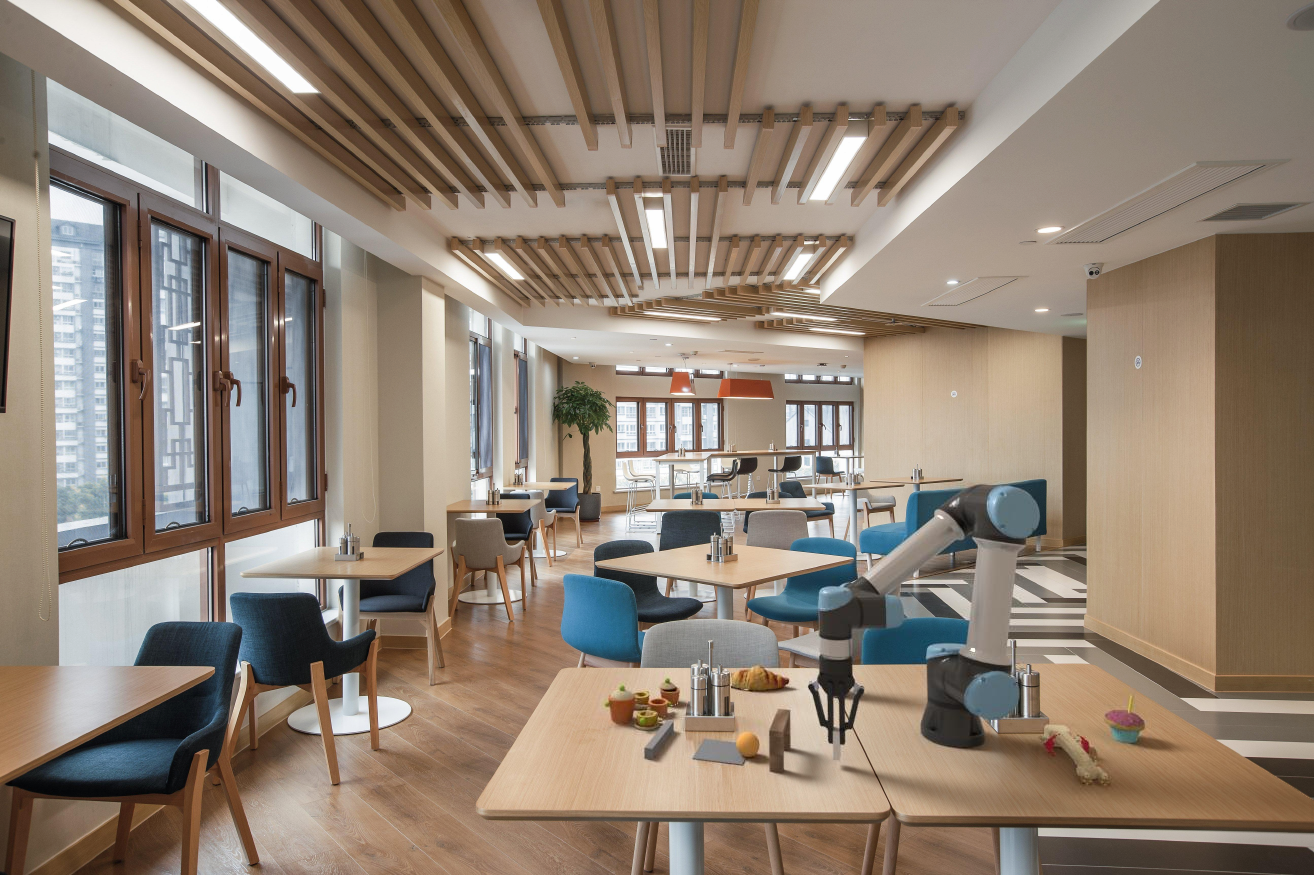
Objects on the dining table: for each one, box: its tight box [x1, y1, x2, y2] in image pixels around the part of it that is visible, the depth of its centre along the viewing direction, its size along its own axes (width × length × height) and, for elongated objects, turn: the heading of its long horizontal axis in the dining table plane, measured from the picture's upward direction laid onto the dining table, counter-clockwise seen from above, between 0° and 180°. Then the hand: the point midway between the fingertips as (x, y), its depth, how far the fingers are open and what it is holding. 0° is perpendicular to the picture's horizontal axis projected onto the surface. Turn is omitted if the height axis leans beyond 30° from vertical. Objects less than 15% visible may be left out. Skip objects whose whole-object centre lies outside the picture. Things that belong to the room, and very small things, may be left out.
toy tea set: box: [604, 677, 681, 731], centre depth 198 cm, size 26×16×10 cm, turn 158°
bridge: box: [768, 708, 792, 774], centre depth 167 cm, size 3×14×9 cm, turn 162°
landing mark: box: [691, 738, 747, 766], centre depth 171 cm, size 12×12×1 cm
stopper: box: [643, 720, 675, 760], centre depth 176 cm, size 2×18×2 cm, turn 162°
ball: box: [735, 731, 760, 758], centre depth 169 cm, size 6×6×6 cm
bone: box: [1037, 724, 1111, 787], centre depth 165 cm, size 10×9×25 cm
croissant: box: [731, 664, 790, 691], centre depth 219 cm, size 21×10×8 cm, turn 82°
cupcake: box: [1103, 692, 1146, 744], centre depth 177 cm, size 9×8×12 cm
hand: (836, 757), depth 163 cm, fingers closed
